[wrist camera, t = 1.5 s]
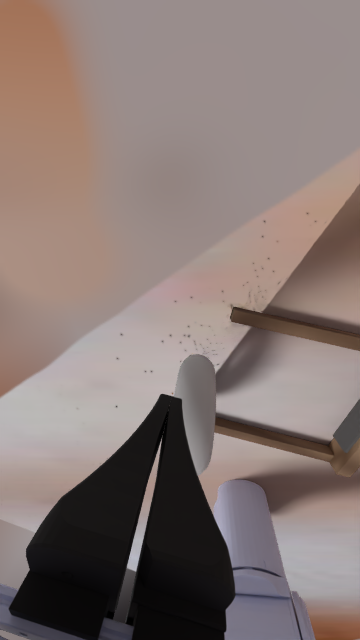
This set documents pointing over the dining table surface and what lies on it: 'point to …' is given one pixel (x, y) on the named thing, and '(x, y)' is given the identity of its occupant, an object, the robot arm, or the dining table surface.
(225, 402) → the dining table surface
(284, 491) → the dining table surface
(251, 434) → the guide track
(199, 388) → the donut
